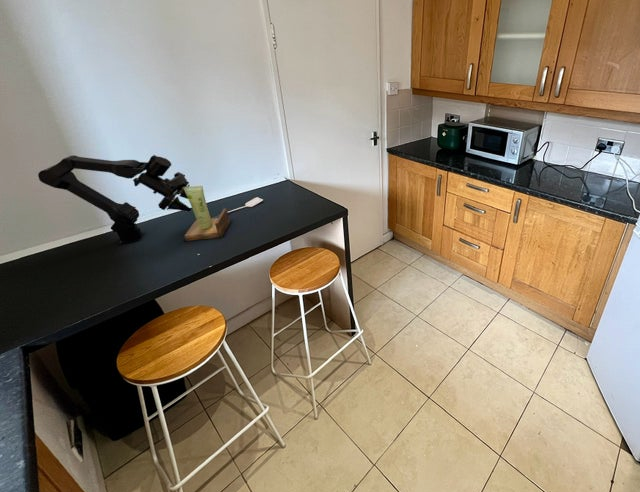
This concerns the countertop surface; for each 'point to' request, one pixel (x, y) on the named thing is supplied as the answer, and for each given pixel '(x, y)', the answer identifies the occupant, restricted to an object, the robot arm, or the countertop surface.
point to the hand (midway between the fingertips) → (194, 205)
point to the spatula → (247, 204)
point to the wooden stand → (211, 232)
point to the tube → (199, 205)
